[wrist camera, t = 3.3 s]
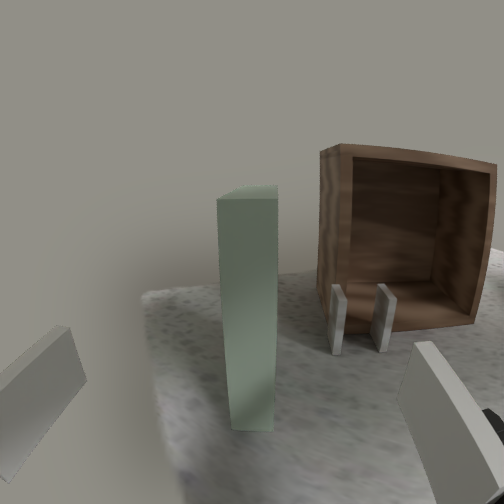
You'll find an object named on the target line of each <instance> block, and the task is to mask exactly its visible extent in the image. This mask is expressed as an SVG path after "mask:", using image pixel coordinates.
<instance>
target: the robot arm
mask: <svg viewBox="0 0 504 504" xmlns="http://www.w3.org/2000/svg"><path fill="white" fill-rule="evenodd" d="M86 382H87V380H86V376H85V374H84V371H83V368H82V365H81V362H80V359H79V356H78V353H77V350H76V347H75V343H74V340H73V337H72V333H71V330H70V328H68V327H63V326H56V327H55V328H53V329H52V330H51V331H49V333H47V334H46V335H45V336H43V338H41V339H40V340H39V341H37V342H36V343H35V344H34V345H33V346H32V347H30V348H29V349H28V350H27V351H26V352H24V353H23V354H22V355H21V356H20V357H19V358H18V359H16V360H15V361H14V362H13V363H12V364H11V365H10V366H8V367H7V368H6V369H5V370H4V371H3V372H2V373H1V374H0V478H2V479H3V480H4V481H6V482H7V483H10V482H11V480H12V479H13V477H14V476H15V474H16V473H17V472H18V470H19V469H20V467H21V466H22V465H23V463H24V462H25V461H26V459H27V457H28V456H29V455H30V453H31V452H32V451H33V450H34V448H35V447H36V446H37V444H38V443H39V442H40V440H41V439H42V437H43V436H44V435H45V433H46V432H47V431H48V430H49V428H50V427H51V426H52V424H53V423H54V422H55V421H56V419H57V418H58V417H59V415H60V414H61V413H62V412H63V410H64V409H65V408H66V407H67V405H68V404H69V403H70V401H71V400H72V399H73V398H74V396H75V395H76V394H77V393H78V391H79V390H80V389H81V388H82V386H83V385H84V384H85V383H86ZM397 401H398V404H399V406H400V408H401V411H402V413H403V415H404V418H405V420H406V423H407V425H408V428H409V430H410V432H411V435H412V437H413V440H414V442H415V445H416V448H417V450H418V453H419V455H420V458H421V461H422V463H423V466H424V469H425V471H426V474H427V477H428V480H429V482H430V485H431V488H432V491H433V494H434V497H435V500H436V503H437V504H504V423H503V421H502V420H501V418H500V417H499V416H498V415H497V414H495V413H494V412H493V411H491V410H490V409H489V408H488V409H485V410H481V409H480V407H479V406H478V404H477V403H476V401H475V400H474V399H473V397H472V396H471V394H470V393H469V391H468V390H467V388H466V387H465V386H464V384H463V383H462V381H461V380H460V378H459V377H458V376H457V374H456V373H455V372H454V370H453V369H452V367H451V366H450V365H449V363H448V362H447V361H446V359H445V358H444V357H443V355H442V354H441V353H440V351H439V350H438V349H437V347H436V346H435V345H434V344H433V342H432V341H424V342H414V344H413V348H412V351H411V355H410V358H409V362H408V365H407V368H406V372H405V375H404V378H403V381H402V384H401V387H400V390H399V393H398V396H397Z"/></svg>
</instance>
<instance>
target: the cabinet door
mask: <svg viewBox="0 0 504 504" xmlns="http://www.w3.org/2000/svg"><path fill="white" fill-rule="evenodd" d="M217 222H218V246H219V266H220V286H221V303H222V319H223V334H224V348H225V361H226V374H227V386H228V398H229V409H230V420H231V430H239V431H259V432H273V425H274V402H275V375H276V342H277V295H278V188H277V186H276V185H275V186H274V185H273V186H271V185H269V186H268V185H264V186H263V185H261V186H242V187H240V188H238V189H236V190H234V191H232V192H230V193H228V194H226V195H224V196H222V197H220V198H218V199H217Z"/></svg>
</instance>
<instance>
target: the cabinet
mask: <svg viewBox="0 0 504 504" xmlns="http://www.w3.org/2000/svg"><path fill="white" fill-rule="evenodd" d="M496 187H497V164H492V163H487V162H483V161H478V160H473V159H467V158H462V157H456V156H450V155H444V154H438V153H431V152H424V151H416V150H408V149H400V148H391V147H381V146H369V145H356V144H338V145H335V146H333V147H330V148H327V149H325V150H322V151H320V212H319V245H318V267H317V285H316V288H317V291H318V294H319V297H320V301H321V304H322V307H323V311H324V314H325V317H326V321H327V324H328V331H327V337H328V340H329V344H330V348H331V352H332V355H340V353H341V347H342V340H343V334H365V333H370V335H371V337H372V339H373V341H374V343H375V345H376V347H377V349H378V351H379V353H382V352H387V348H388V343H389V339H390V334H391V332H397V331H410V330H421V329H432V328H441V327H450V326H458V325H466V324H474V321H475V318H476V314H477V310H478V307H479V303H480V299H481V295H482V290H483V286H484V281H485V276H486V271H487V266H488V261H489V255H490V248H491V242H492V233H493V226H494V225H493V224H494V216H495V205H496Z"/></svg>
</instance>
